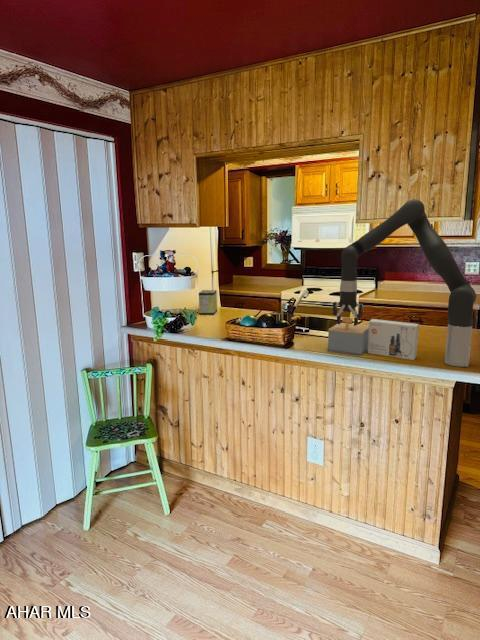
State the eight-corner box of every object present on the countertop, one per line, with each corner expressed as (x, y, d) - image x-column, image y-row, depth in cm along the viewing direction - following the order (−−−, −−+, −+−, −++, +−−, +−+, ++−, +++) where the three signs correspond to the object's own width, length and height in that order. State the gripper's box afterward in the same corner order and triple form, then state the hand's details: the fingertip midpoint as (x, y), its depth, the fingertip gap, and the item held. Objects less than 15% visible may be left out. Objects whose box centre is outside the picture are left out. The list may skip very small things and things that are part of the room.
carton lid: (371, 327, 209) (371, 314, 208) (362, 334, 195) (362, 321, 194) (339, 324, 217) (339, 312, 216) (328, 330, 204) (328, 317, 202)
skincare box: (366, 353, 201) (368, 320, 198) (370, 350, 205) (372, 318, 202) (414, 360, 189) (416, 325, 186) (416, 357, 194) (419, 323, 190)
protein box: (217, 310, 311) (216, 289, 308) (214, 315, 296) (213, 292, 293) (203, 310, 312) (202, 289, 309) (199, 315, 297) (198, 293, 294)
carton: (370, 347, 211) (371, 327, 209) (361, 355, 198) (362, 334, 196) (338, 343, 219) (339, 324, 217) (327, 351, 206) (328, 331, 204)
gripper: (366, 289, 197) (364, 324, 201) (336, 288, 205) (334, 321, 208) (361, 292, 191) (360, 328, 195) (330, 290, 198) (329, 324, 202)
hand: (347, 324), depth 201 cm, fingers open, 7 cm apart
